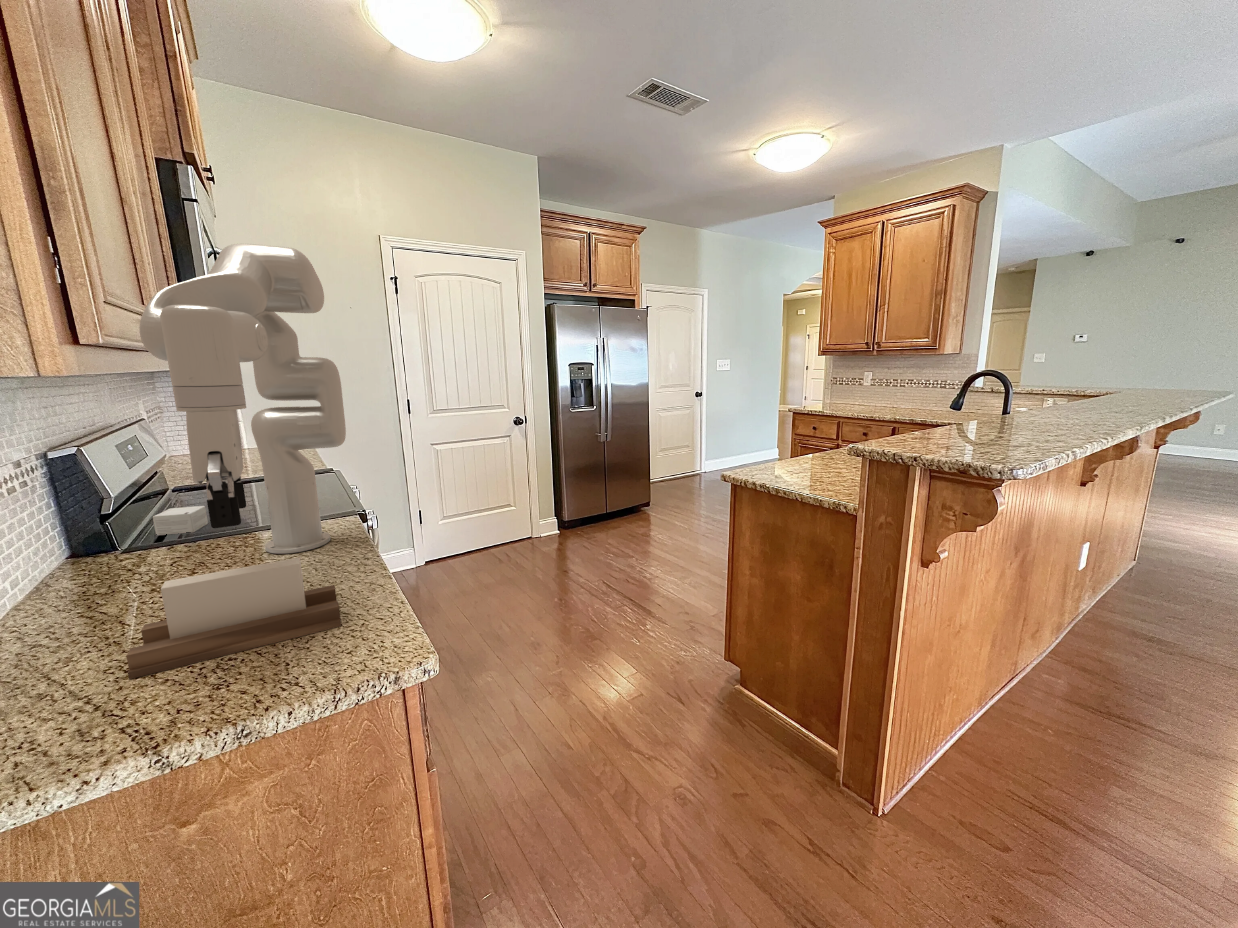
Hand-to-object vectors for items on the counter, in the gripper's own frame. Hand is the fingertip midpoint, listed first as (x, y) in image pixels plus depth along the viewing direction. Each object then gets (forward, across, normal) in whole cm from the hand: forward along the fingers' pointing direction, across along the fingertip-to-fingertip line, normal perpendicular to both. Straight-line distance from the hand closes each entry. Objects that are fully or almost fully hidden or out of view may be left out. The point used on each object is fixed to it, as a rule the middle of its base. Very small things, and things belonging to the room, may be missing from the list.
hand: (230, 517), depth 70 cm
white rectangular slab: (+17, 0, 0) cm, 17 cm away
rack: (+18, +1, 0) cm, 18 cm away
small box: (+20, -72, -18) cm, 77 cm away
